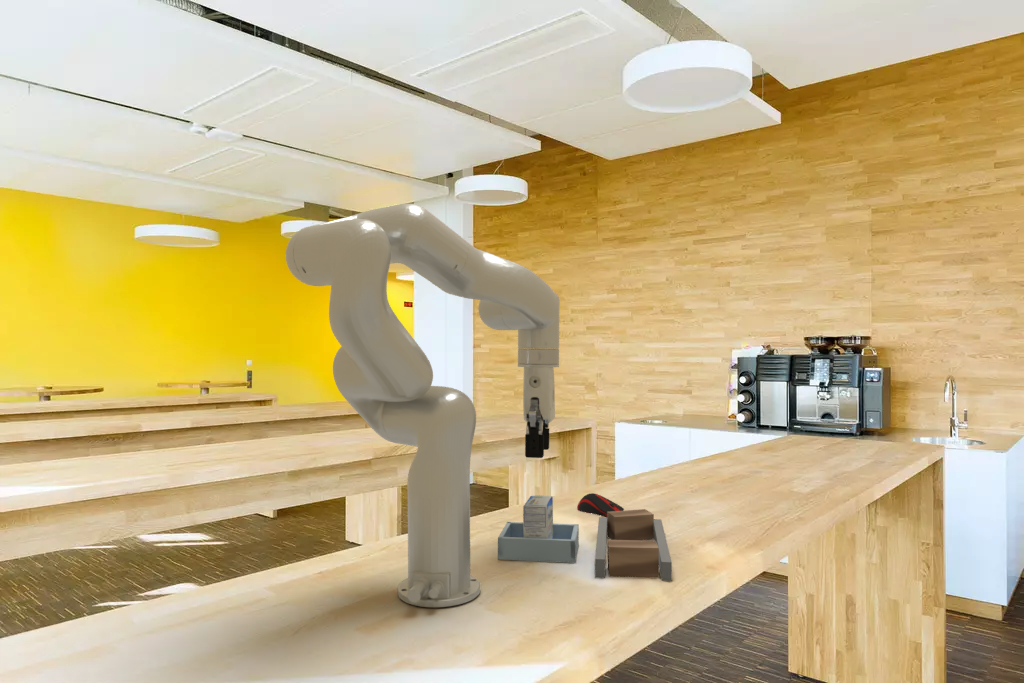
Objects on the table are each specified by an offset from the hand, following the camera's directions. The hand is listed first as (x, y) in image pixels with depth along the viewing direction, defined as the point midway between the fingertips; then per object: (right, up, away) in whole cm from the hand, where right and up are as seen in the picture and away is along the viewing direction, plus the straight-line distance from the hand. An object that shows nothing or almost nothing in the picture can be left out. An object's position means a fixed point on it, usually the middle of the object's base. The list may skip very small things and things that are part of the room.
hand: (537, 453), depth 125 cm
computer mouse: (+15, -18, +29) cm, 38 cm away
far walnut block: (+18, -18, +9) cm, 27 cm away
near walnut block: (+15, -18, -11) cm, 26 cm away
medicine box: (0, -17, 0) cm, 17 cm away
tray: (0, -18, +1) cm, 18 cm away
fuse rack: (+17, -18, -1) cm, 25 cm away
